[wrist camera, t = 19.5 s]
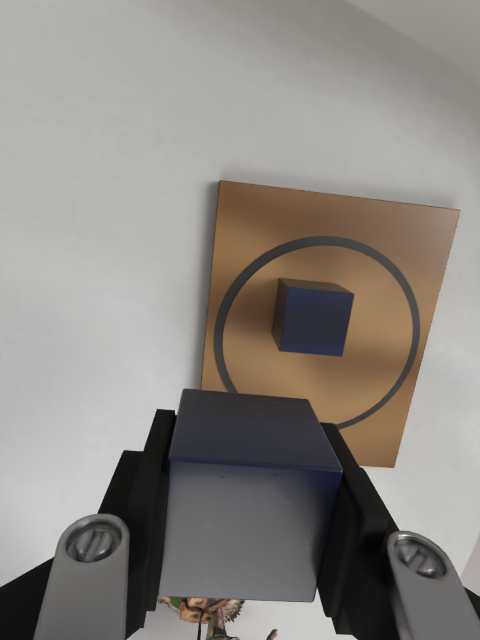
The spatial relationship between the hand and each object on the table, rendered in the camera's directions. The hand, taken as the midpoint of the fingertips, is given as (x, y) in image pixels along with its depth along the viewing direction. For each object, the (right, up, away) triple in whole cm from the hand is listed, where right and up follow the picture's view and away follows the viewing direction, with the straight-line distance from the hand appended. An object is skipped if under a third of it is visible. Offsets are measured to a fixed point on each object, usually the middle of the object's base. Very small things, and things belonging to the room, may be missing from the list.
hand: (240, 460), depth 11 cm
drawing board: (+5, +3, +16) cm, 17 cm away
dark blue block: (0, 0, +1) cm, 1 cm away
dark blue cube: (+4, +5, +14) cm, 16 cm away
